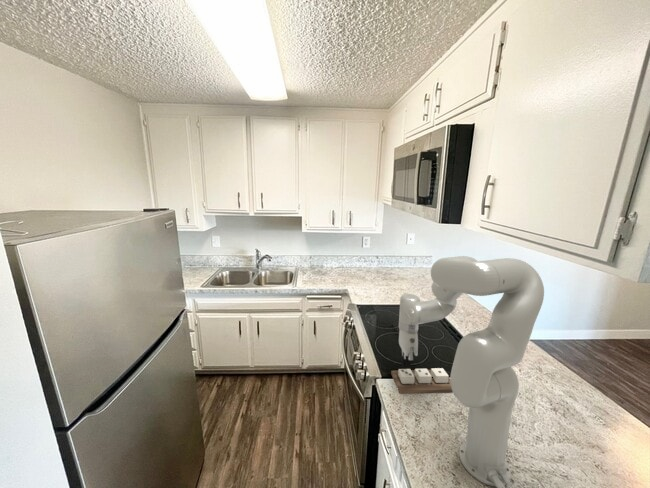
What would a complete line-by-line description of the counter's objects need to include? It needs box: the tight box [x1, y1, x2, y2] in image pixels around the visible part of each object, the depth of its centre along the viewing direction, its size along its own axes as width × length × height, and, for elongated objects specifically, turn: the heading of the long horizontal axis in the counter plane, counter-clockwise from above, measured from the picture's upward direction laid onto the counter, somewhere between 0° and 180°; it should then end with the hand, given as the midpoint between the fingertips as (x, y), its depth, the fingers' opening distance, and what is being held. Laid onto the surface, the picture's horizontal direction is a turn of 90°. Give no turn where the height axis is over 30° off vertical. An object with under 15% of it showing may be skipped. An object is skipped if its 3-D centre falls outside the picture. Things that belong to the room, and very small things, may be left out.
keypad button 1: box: [430, 367, 450, 384], centre depth 107 cm, size 5×5×3 cm
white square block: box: [397, 368, 416, 385], centre depth 107 cm, size 5×5×3 cm
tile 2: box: [414, 368, 433, 384], centre depth 107 cm, size 5×5×3 cm
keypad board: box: [390, 369, 453, 395], centre depth 107 cm, size 12×23×2 cm, turn 91°
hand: (405, 366), depth 106 cm, fingers closed
